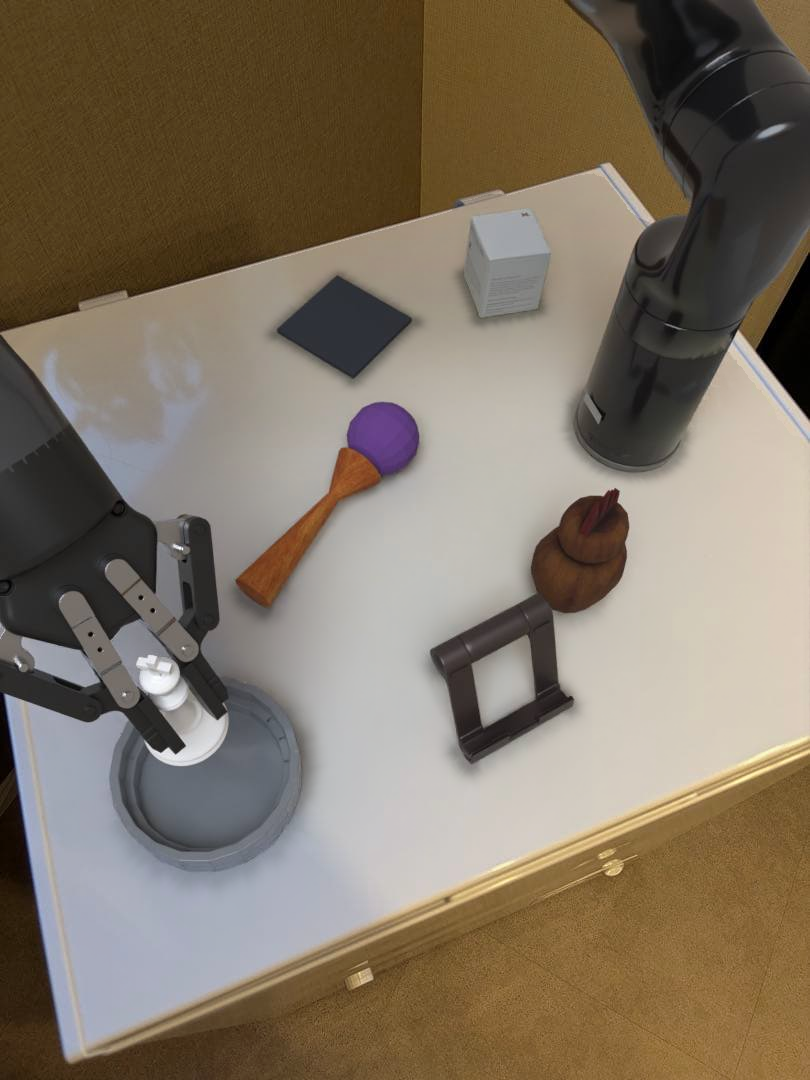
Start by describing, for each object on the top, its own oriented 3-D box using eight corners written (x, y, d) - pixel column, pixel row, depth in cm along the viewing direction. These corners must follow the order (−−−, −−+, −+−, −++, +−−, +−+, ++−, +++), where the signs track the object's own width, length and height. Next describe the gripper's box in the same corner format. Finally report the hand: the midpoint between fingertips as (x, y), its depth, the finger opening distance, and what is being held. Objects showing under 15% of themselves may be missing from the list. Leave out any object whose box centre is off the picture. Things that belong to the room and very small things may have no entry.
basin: (208, 665, 66) (199, 644, 63) (337, 763, 63) (335, 746, 59) (86, 798, 61) (69, 782, 57) (219, 912, 58) (211, 903, 54)
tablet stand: (468, 769, 63) (483, 732, 56) (412, 677, 66) (419, 631, 59) (569, 711, 66) (595, 668, 58) (511, 625, 69) (529, 575, 62)
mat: (337, 278, 87) (337, 274, 86) (411, 321, 84) (412, 317, 84) (277, 332, 83) (276, 328, 82) (353, 379, 80) (353, 375, 80)
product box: (461, 274, 88) (469, 214, 81) (520, 266, 89) (533, 205, 82) (478, 319, 85) (488, 260, 78) (539, 310, 86) (554, 251, 79)
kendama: (210, 556, 66) (369, 377, 73) (235, 594, 71) (381, 423, 78) (270, 592, 64) (428, 403, 71) (291, 629, 69) (437, 449, 76)
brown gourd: (550, 636, 69) (595, 538, 56) (511, 577, 71) (546, 470, 58) (622, 601, 70) (682, 499, 57) (582, 544, 73) (631, 434, 60)
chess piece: (213, 774, 50) (183, 717, 42) (130, 756, 51) (83, 696, 42) (239, 693, 53) (215, 624, 44) (159, 676, 53) (120, 604, 45)
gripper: (-150, 556, 35) (105, 849, 42) (139, 377, 41) (326, 662, 47) (-148, 537, 42) (72, 794, 48) (101, 384, 47) (270, 635, 53)
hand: (197, 728), depth 48 cm, fingers closed on chess piece
